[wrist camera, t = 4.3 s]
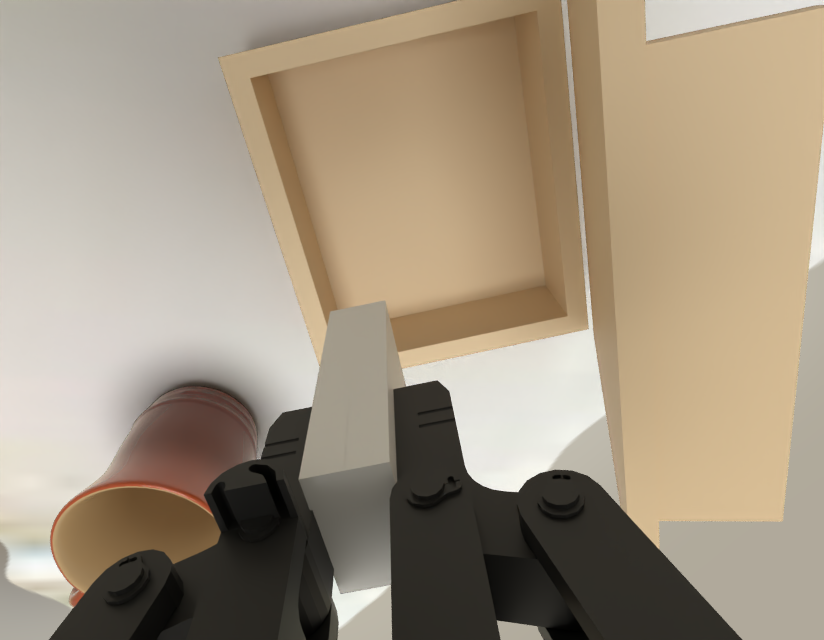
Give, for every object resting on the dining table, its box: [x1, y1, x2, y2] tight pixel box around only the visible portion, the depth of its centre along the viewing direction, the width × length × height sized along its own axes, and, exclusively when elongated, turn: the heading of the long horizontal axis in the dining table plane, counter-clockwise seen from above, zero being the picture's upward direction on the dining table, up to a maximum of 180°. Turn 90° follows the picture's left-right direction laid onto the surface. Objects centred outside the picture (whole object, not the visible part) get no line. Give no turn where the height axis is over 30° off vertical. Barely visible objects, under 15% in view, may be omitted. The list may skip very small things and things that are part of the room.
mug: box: [50, 386, 257, 607], centre depth 32 cm, size 12×9×10 cm
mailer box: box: [218, 0, 589, 369], centre depth 28 cm, size 16×14×5 cm
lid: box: [567, 0, 824, 550], centre depth 19 cm, size 16×14×4 cm
